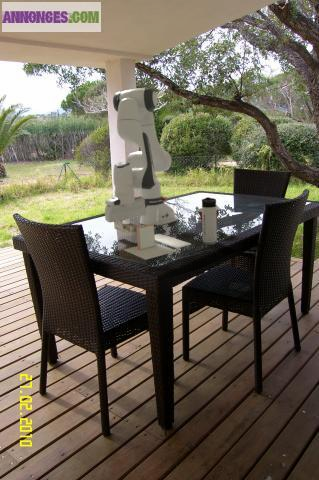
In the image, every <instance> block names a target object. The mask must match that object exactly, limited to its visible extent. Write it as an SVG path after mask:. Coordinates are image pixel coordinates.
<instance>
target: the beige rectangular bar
mask: <svg viewBox="0 0 319 480" xmlns="http://www.w3.org/2000/svg"><path fill="white" fill-rule="evenodd" d="M122 224H123V225H125V229H123V230H122V229H121V225H120V224H119V223H118V221H116V222H113V227H114V229H115V230H118V231H120V232H123V233H125V234H129V235H130V237H135V236H136V237H137V228H136V227H140V226H144V224H141V225H138V224H135V223H134V224H132V223H131V222H128V221H125V220H123V222H122Z"/></svg>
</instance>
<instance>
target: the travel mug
mask: <svg viewBox="0 0 319 480" xmlns="http://www.w3.org/2000/svg"><path fill="white" fill-rule="evenodd" d="M216 207H217V199H216V198H214V197H209V196H207V197H204V198H202V199H201V208H202V223H201V226H202V243H203V244H204V245H209V246H210V245H215V244H217V243H218V236H217V232H218V231H217V230H218V227H217V226H218V224H217V223H218V218H217V219H216Z"/></svg>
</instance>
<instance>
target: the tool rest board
mask: <svg viewBox="0 0 319 480" xmlns="http://www.w3.org/2000/svg"><path fill="white" fill-rule="evenodd" d="M154 236H155V242H158V243H160V244H164V245H166V246H168V247H170V248H171V247H172V248H173V249H180V248H184V247H188V246H192V243H190V242H187V241H184V240H181V239H179V238H174V237H172V236H169V235H166V234H163V233H157V234H154Z"/></svg>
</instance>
